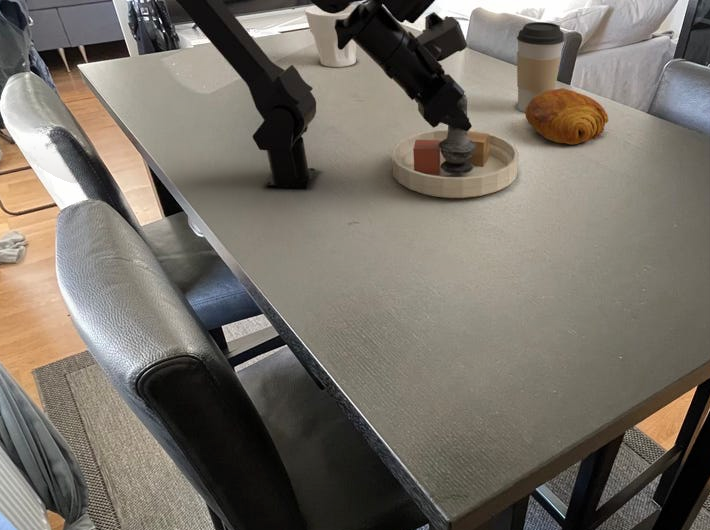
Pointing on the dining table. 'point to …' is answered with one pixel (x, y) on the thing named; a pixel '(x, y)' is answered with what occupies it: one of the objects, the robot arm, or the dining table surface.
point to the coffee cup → (537, 60)
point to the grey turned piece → (457, 147)
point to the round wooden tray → (447, 185)
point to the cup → (330, 37)
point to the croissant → (566, 116)
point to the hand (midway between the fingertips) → (465, 124)
